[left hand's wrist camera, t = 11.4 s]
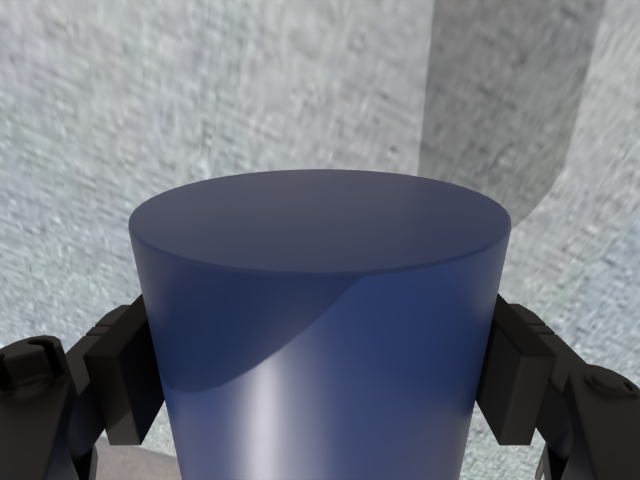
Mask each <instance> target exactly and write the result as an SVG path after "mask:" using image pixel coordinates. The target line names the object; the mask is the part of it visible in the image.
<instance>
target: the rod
mask: <svg viewBox="0 0 640 480" xmlns="http://www.w3.org/2000/svg"><path fill="white" fill-rule="evenodd" d="M128 229H129V233H130V238H131V243H132V248H133V252H134V257H135V262H136V266H137V271H138V276H139V280H140V285H141V290H142V294H143V299H144V304H145V308H146V313H147V318H148V322H149V327H150V332H151V337H152V341H153V346H154V351H155V355H156V360H157V365H158V369H159V374H160V379H161V383H162V388H163V393H164V397H165V402H166V407H167V411H168V416H169V421H170V425H171V430H172V435H173V440H174V444H175V449H176V454H177V458H178V463H179V468H180V472H181V477H182V480H459V476H460V471H461V466H462V461H463V457H464V452H465V447H466V442H467V437H468V433H469V428H470V423H471V418H472V413H473V409H474V404H475V399H476V394H477V390H478V385H479V380H480V375H481V370H482V366H483V361H484V356H485V351H486V346H487V342H488V337H489V332H490V327H491V323H492V318H493V313H494V308H495V303H496V299H497V294H498V289H499V284H500V279H501V275H502V270H503V265H504V260H505V255H506V251H507V246H508V241H509V236H510V232H511V219H510V216H509V215H508V213H507V211H506V210H505V209H504V208H503V207H502V206H501V205H500V204H499V203H497V202H495V201H494V200H492V199H491V198H489V197H487V196H484V195H482V194H480V193H478V192H475V191H473V190H470V189H467V188H464V187H461V186H457V185H454V184H450V183H446V182H442V181H438V180H433V179H428V178H422V177H416V176H410V175H403V174H395V173H385V172H374V171H359V170H330V169H313V170H283V171H269V172H257V173H248V174H240V175H232V176H226V177H220V178H214V179H209V180H204V181H200V182H196V183H191V184H187V185H184V186H181V187H177V188H174V189H172V190H169V191H166V192H163V193H161V194H159V195H157V196H155V197H152V198H150V199H149V200H147V201H145V202H144V203H142V204H141V205H140V206H139V207H137V208H136V209H135V210H134V211H133V213H132V215H131V216H130V219H129V227H128Z"/></svg>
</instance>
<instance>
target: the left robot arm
mask: <svg viewBox="0 0 640 480" xmlns="http://www.w3.org/2000/svg"><path fill="white" fill-rule="evenodd" d="M164 400H165V397H164V393H163V388H162V383H161V379H160V374H159V369H158V365H157V360H156V355H155V351H154V346H153V341H152V337H151V332H150V327H149V322H148V318H147V313H146V308H145V304H144V299H143V294H141V295H140V296H139V297H138V298H137V299H136V300H135V301H134V302H133V303H132V304H131V305H121V306H119V307H118V308H116V309H114V310H112V311H111V312H109V313H107V314H106V315H105V316H104V317H103V318H102V319H101V320H100V321H99V322H98V323H97V324H96V325H95V327H92V328H91V329H90V330H89V331H88V332H87V333H86V336H83V337H82V338H81V339H80V340H79V341H78V342H77V343H76V344H75V345H74V346H73V347H72V348H71V349H70V350H69V351H68V352H67V353H66V354H65V353H64V350H63V347H62V344H61V341H60V339H58V338H56V337H55V336H47V335H43V336H36V337H30V338H26V339H23V340H20V341H16V342H14V343H12V344H10V345H8V346H5V347H3V348H1V349H0V480H95V478H96V470H97V461H98V455H97V449H96V446H95V442H96V441H97V439H98V438H99V436H100V435H101V433H102V432H103V430H104V429H105V430H106V433H107V437H108V440H109V443H110V445H141V444H142V442H143V440H144V438H145V436H146V435H147V433H148V431H149V429H150V427H151V425H152V423H153V421H154V419H155V417H156V416H157V414H158V412H159V410H160V408H161V406H162V404H163V402H164ZM475 400H476V402H477V404H478V406H479V408H480V409H481V411H482V413H483V415H484V417H485V419H486V421H487V423H488V425H489V427H490V428H491V430H492V432H493V434H494V436H495V438H496V440H497V442H498V444H499V445H530V444H531V441H532V438H533V434H534V431H535V428H537V430H538V431H539V433H540V434H541V436H542V437H543V438H544V440H545V441H546V443H545V446H544V449H543V452H542V455H541V458H540V461H539V464H538V467H537V470H536V475H535V479H537V480H541V477H542V474H543V472H544V477H545V480H640V389H639V388H638V387H637V386H636V385H635V384H634V383H632V382H631V381H630V380H628V379H627V378H626V377H624V376H622V375H620V374H618V373H616V372H614V371H612V370H609V369H606V368H603V367H600V366H596V365H590V364H587V363H586V362H585V361H584V360H583V359H582V358H580V357H579V356H578V355H577V354H576V353H575V352H574V351H573V350H572V349H571V348H570V347H569V346H568V345H567V344H566V343H565V342H564V341H563V340H562V339H561V338H560V337H559V336H558V335H555V332H554V331H553V330H551V329H550V328H549V327H548V326H546V325H545V323H544V322H543V321H542V320H541V319H540V318H539V317H538V316H537V315H536V314H535V313H534V312H532V311H530V310H528V309H527V308H525V307H523V306H521V305H520V304H508V303H507V302H506V301H505V300H504V299H503V298H502V297H501V296H500V295H499V294H497V299H496V303H495V308H494V313H493V318H492V323H491V327H490V332H489V337H488V342H487V346H486V351H485V356H484V361H483V366H482V370H481V375H480V380H479V385H478V390H477V394H476V399H475Z"/></svg>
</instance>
